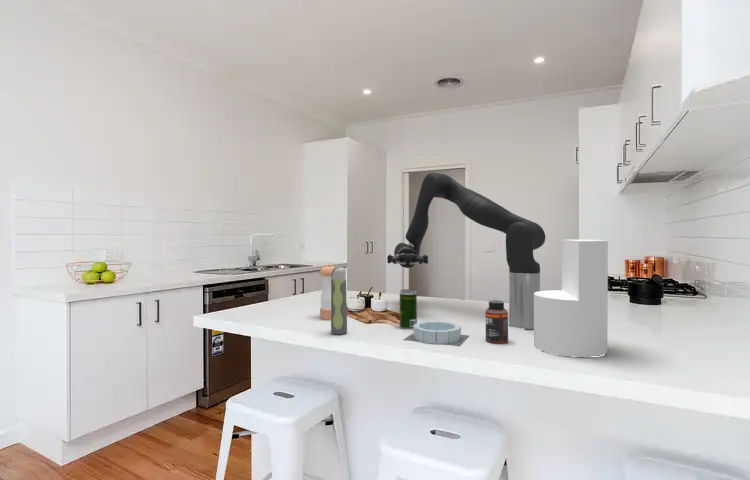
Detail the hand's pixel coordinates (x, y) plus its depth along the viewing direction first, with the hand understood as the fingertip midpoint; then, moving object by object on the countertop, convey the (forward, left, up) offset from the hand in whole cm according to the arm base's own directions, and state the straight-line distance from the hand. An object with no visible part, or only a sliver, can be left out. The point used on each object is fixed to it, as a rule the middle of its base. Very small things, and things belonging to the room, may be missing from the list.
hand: (407, 261), depth 141 cm
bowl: (-16, +19, -20) cm, 32 cm away
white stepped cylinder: (-50, +14, -21) cm, 55 cm away
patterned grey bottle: (+13, +24, -21) cm, 34 cm away
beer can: (-4, +10, -21) cm, 23 cm away
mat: (-16, +19, -20) cm, 32 cm away
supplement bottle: (-32, +16, -21) cm, 41 cm away
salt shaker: (+27, +6, -21) cm, 35 cm away
